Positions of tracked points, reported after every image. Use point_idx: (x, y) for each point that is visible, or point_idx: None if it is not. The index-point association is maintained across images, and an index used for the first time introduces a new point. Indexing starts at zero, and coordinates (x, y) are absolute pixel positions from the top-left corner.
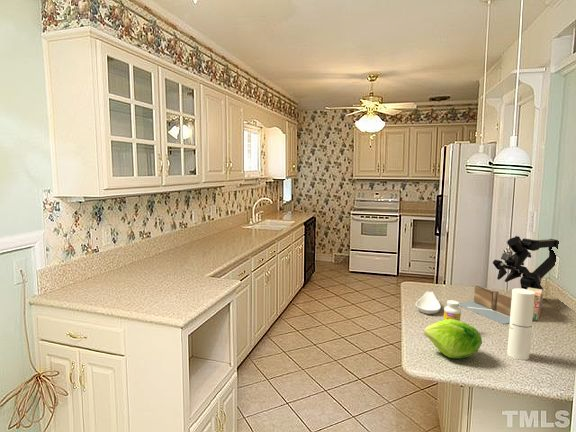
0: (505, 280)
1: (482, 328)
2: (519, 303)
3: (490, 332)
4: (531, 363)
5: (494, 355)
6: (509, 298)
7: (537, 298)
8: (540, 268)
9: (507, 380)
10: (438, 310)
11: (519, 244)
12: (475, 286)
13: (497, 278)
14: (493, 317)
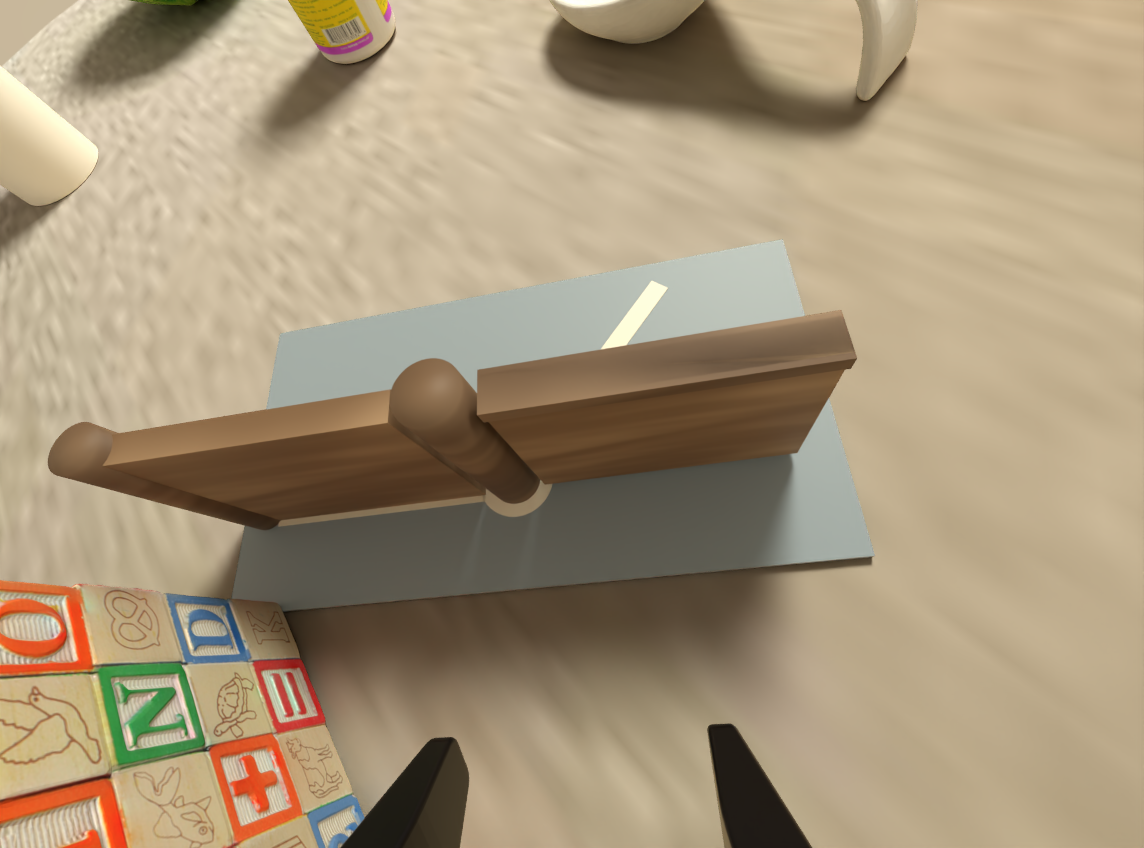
0: (421, 749)
1: (305, 183)
2: None
3: (250, 193)
4: None
5: (119, 97)
6: (215, 421)
7: None
8: None
9: (26, 60)
10: (554, 7)
11: None
12: (819, 314)
13: (724, 727)
14: (388, 345)
